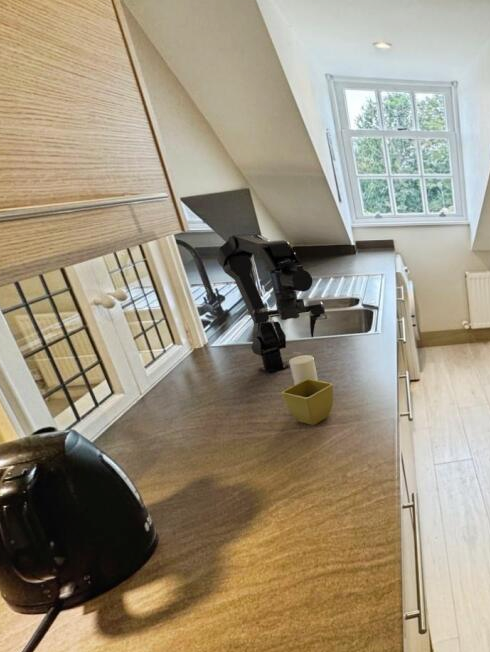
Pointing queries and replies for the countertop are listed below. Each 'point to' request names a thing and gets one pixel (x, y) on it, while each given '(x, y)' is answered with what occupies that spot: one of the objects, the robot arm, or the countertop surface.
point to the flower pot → (309, 400)
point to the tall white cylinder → (303, 368)
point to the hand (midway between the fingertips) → (295, 339)
